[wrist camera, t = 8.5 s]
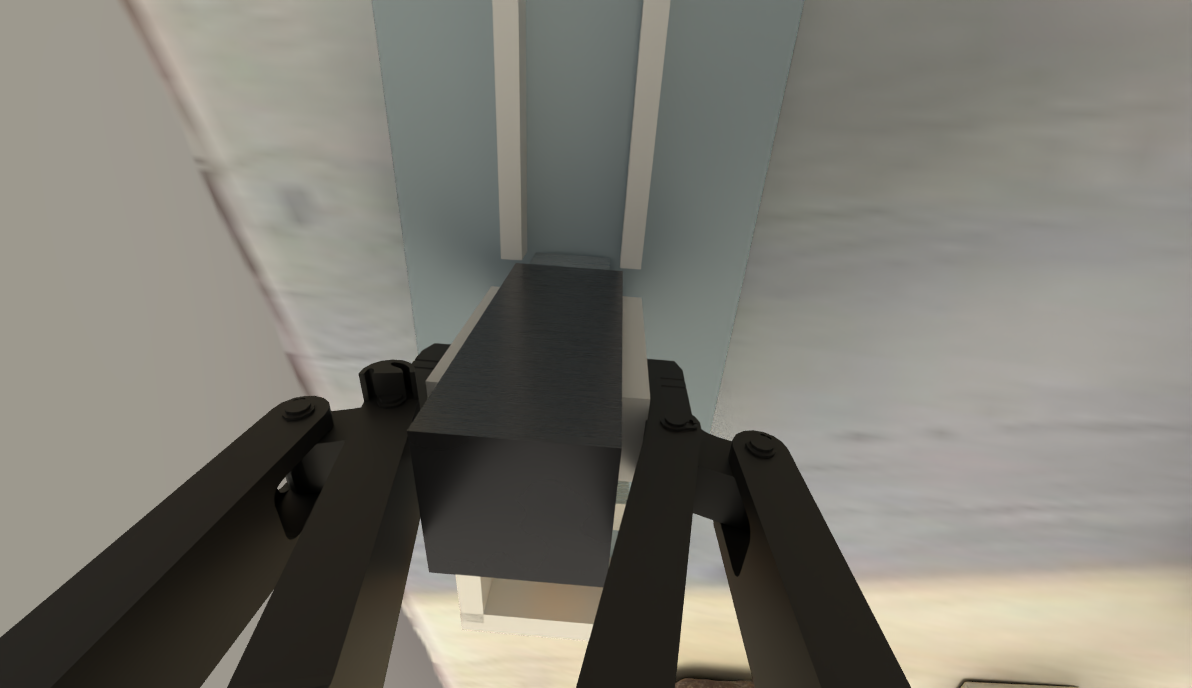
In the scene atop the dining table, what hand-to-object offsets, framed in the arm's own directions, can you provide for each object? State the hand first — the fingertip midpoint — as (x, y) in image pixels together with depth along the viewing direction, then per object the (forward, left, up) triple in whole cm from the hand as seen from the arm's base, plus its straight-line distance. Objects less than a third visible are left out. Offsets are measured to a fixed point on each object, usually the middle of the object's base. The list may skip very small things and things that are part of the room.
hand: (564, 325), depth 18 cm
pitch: (+1, +1, -4) cm, 4 cm away
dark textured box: (+2, +2, -2) cm, 4 cm away
